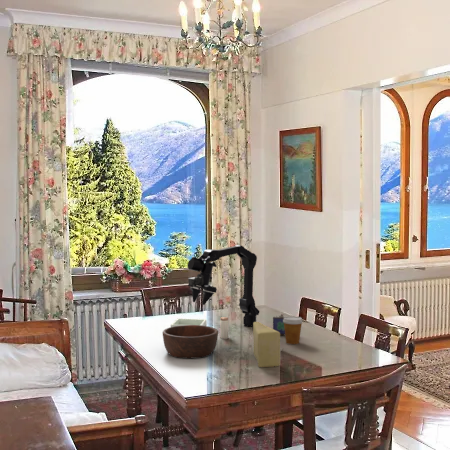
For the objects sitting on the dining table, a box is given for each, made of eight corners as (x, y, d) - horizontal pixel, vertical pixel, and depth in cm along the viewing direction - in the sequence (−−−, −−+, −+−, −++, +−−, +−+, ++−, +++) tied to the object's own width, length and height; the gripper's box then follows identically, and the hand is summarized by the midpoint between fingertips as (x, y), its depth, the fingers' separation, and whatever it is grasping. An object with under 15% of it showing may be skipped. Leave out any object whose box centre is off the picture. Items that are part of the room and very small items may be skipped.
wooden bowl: (175, 363, 267) (175, 339, 267) (154, 350, 289) (154, 328, 289) (227, 356, 279) (227, 333, 278) (203, 344, 301) (203, 322, 300)
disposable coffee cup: (305, 341, 306) (305, 317, 305) (298, 346, 297) (299, 320, 296) (286, 339, 310) (286, 315, 309) (279, 343, 301) (280, 319, 300)
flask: (290, 333, 322) (291, 313, 322) (291, 335, 319) (291, 314, 319) (272, 333, 323) (272, 312, 322) (273, 334, 320) (273, 314, 319)
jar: (228, 336, 315) (228, 317, 314) (227, 338, 311) (227, 318, 310) (220, 336, 315) (221, 316, 315) (219, 338, 311) (219, 318, 311)
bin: (206, 326, 338) (206, 319, 338) (201, 333, 322) (201, 325, 322) (177, 325, 340) (177, 318, 340) (170, 332, 324) (170, 324, 324)
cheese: (244, 354, 282) (244, 321, 281) (265, 353, 284) (265, 320, 284) (258, 368, 261) (258, 332, 260) (280, 366, 263) (280, 331, 262)
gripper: (183, 268, 326) (176, 297, 325) (202, 272, 311) (195, 303, 309) (200, 272, 333) (193, 301, 331) (220, 277, 317) (213, 307, 316)
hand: (198, 303), depth 322 cm, fingers open, 9 cm apart
